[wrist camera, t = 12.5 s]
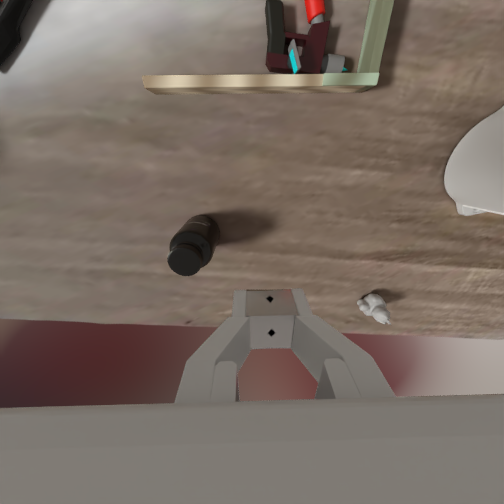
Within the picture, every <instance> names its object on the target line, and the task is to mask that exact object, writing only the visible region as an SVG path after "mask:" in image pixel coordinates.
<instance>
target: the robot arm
mask: <svg viewBox="0 0 504 504" xmlns="http://www.w3.org/2000/svg"><path fill="white" fill-rule="evenodd" d="M444 183H445V188H446V191H447V193H448V194H449V196H450V197H451V198H452V199H453V200H454V201H455V202H456V206H457V211H458V213H459V214H460V215H465V216H469V215H474V214H479V213H484V212H492V213H497V214H502V215H504V106H503V107H502V108H501V109H499V110H498V111H497V112H495V113H494V114H492V115H490V116H489V117H487V118H485V119H484V120H482V121H481V122H479V123H478V124H477V125H476V126H474V127H473V128H472V129H471V130H470V131H469V132H468V133H467V134H466V135H465V136H464V137H463V138H462V140H461V141H460V142H459V143H458V145H457V146H456V148H455V149H454V151H453V153H452V155H451V156H450V159H449V161H448V163H447V166H446V170H445V176H444ZM263 348H291V349H292V351H293V352H294V353H295V354H296V356H297V357H298V358H299V359H300V361H301V362H302V363H303V364H304V366H305V367H306V368H307V369H308V370H309V372H310V373H311V374H312V375H313V377H314V378H315V379H316V380H317V382H318V387H317V391H316V395H315V399H309V400H308V399H307V400H274V401H242V402H241V401H240V400H239V387H238V374H237V373H238V371H239V370H240V368H241V366H242V364H243V363H244V361H245V359H246V358H247V356H248V354H249V352H250V351H251V349H263ZM0 504H504V394H483V395H449V396H413V397H396V396H395V394H394V393H393V391H392V389H391V388H390V386H389V385H388V383H387V381H386V379H385V378H384V376H383V374H382V373H381V371H380V369H379V368H378V366H377V364H376V363H375V361H374V359H373V358H372V357H371V356H370V355H369V354H368V353H366V352H365V351H364V350H362V349H361V348H360V347H358V346H357V345H356V344H354V343H353V342H352V341H350V340H349V339H348V338H346V337H345V336H344V335H342V334H341V333H340V332H338V331H337V330H336V329H334V328H333V327H332V326H330V325H329V324H328V323H326V322H325V321H324V320H322V319H321V318H320V317H318V316H317V315H313V313H312V311H311V309H310V306H309V304H308V301H307V299H306V296H305V294H304V291H303V289H302V288H297V289H277V290H235V291H234V297H233V308H232V317H228V318H227V319H226V320H225V321H224V322H223V323H222V324H221V325H220V326H219V327H218V328H217V329H216V331H215V332H214V333H213V334H212V335H211V336H210V337H209V338H208V339H207V340H206V341H205V342H204V343H203V344H202V345H201V346H200V347H199V349H198V350H197V351H196V352H195V353H194V354H193V355H192V356H191V357H190V358H189V359H188V360H187V362H186V365H185V368H184V372H183V376H182V379H181V382H180V386H179V389H178V392H177V396H176V399H175V402H174V403H169V404H138V405H137V404H133V405H99V406H98V405H97V406H61V407H27V408H26V407H25V408H0Z"/></svg>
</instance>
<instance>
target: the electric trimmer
mask: <svg viewBox="0 0 504 504" xmlns="http://www.w3.org/2000/svg"><path fill="white" fill-rule="evenodd" d="M32 1H33V0H0V65H1V64H2V63H3V62H4V61H5V59H6V58H7V57H8V56H9V55H10V54H11V52H12V51H13V50H14V49H15V47H16V46H17V45H18V43H19V42H20V40H21V39H20V35H19V31H18V27H19V25H20V23H21V21H22V19H23V18H24V16H25V14H26V12H27V10H28V8H29V6H30V5H31V3H32Z"/></svg>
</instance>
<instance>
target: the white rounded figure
mask: <svg viewBox="0 0 504 504" xmlns="http://www.w3.org/2000/svg"><path fill="white" fill-rule="evenodd" d="M357 304H358V305H359V308H360V310H361V311H363V312H364V313H365V314H366V315H368V316H373V317H374V318H375V320H376V321H378V322H381V323H383V324H386V323H389V324H390V325H391V323H390V322H389V319H390V312H389V311H388V310H387V309H386V306H387V305H386V303H385V301H384V300H383V298H382V297H381V296H379V295H378V294H369V295H367V296H366V297H365V298H364V299H360V300H358V301H357Z"/></svg>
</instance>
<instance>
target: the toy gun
mask: <svg viewBox="0 0 504 504" xmlns="http://www.w3.org/2000/svg"><path fill="white" fill-rule="evenodd" d="M305 6H306V12H307V18H308V23H309V24H311V25H312V26H311V28H310V30H309V32H308V35H304V34H297V33H290V32H285V27H284V12H283V3H282V1H281V0H266V6H265V14H266V25H267V35H268V45H267V55H266V66H267V68H268V70H269V71H270V72H275V73H282V74H324V73H341V72H342V71H346V70H347V69H346V68H344V67H343V66H344V61H345V57H344V56H342V55H335V54H327V55H323V54H324V49H325V44H326V39H327V34H328V29H329V24H330V21H326V22H324V19H323V16H324V14H325V5H324V0H305ZM285 44H287V45H289V48H288V52H289V55H285V54H283V52H284V45H285ZM296 46H301V47H303V49H302V55H301V57H299V56H298V52H297V48H296Z"/></svg>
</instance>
